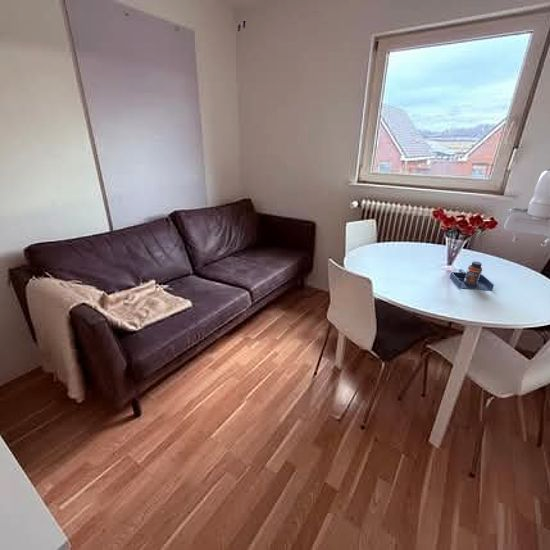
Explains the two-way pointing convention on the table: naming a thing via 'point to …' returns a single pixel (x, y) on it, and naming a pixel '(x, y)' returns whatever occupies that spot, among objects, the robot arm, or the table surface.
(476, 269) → the supplement bottle
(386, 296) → the table surface
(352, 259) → the table surface
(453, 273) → the blue tray
